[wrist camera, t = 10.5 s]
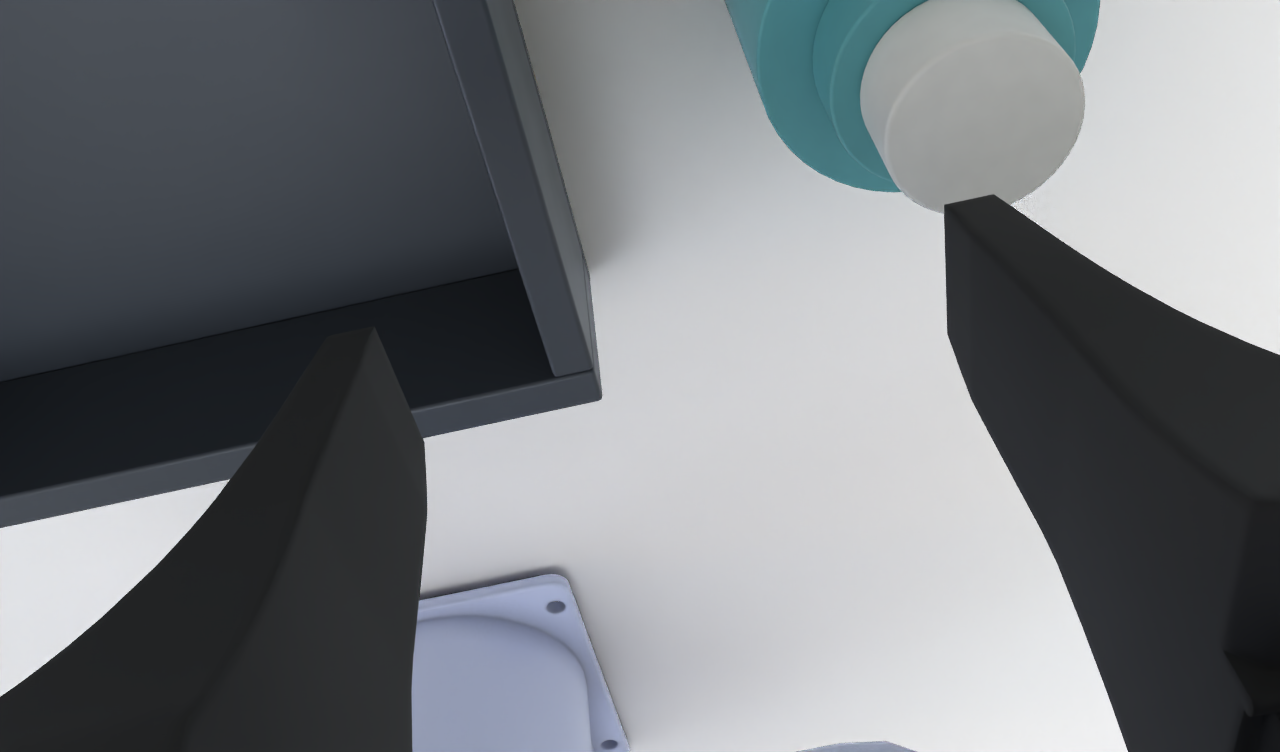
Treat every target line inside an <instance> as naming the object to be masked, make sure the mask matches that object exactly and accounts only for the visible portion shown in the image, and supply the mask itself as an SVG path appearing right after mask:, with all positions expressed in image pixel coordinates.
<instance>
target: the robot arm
mask: <svg viewBox="0 0 1280 752" xmlns="http://www.w3.org/2000/svg"><path fill="white" fill-rule="evenodd" d="M944 223H945V260H946V297H947V334H948V336H949V339H950V342H951V345H952V348H953V351H954V353H955V356H956V359H957V362H958V365H959V367H960V370H961V373H962V376H963V378H964V381H965V383H966V386H967V389H968V391H969V394H970V397H971V399H972V401H973V403H974V405H975V407H976V409H977V411H978V413H979V415H980V417H981V419H982V421H983V422H984V424H985V426H986V428H987V430H988V432H989V434H990V436H991V438H992V439H993V441H994V443H995V445H996V447H997V449H998V451H999V453H1000V454H1001V456H1002V458H1003V460H1004V462H1005V464H1006V466H1007V467H1008V469H1009V471H1010V473H1011V475H1012V477H1013V479H1014V480H1015V482H1016V484H1017V486H1018V488H1019V490H1020V492H1021V493H1022V495H1023V497H1024V499H1025V501H1026V503H1027V505H1028V506H1029V508H1030V510H1031V512H1032V514H1033V516H1034V518H1035V519H1036V521H1037V523H1038V525H1039V527H1040V529H1041V531H1042V532H1043V534H1044V537H1045V539H1046V541H1047V543H1048V545H1049V547H1050V549H1051V551H1052V553H1053V555H1054V558H1055V560H1056V562H1057V564H1058V566H1059V569H1060V572H1061V574H1062V577H1063V579H1064V582H1065V584H1066V587H1067V589H1068V592H1069V594H1070V597H1071V599H1072V602H1073V604H1074V607H1075V609H1076V612H1077V614H1078V617H1079V619H1080V622H1081V624H1082V627H1083V629H1084V632H1085V635H1086V637H1087V640H1088V643H1089V645H1090V648H1091V651H1092V653H1093V656H1094V659H1095V661H1096V664H1097V667H1098V669H1099V672H1100V675H1101V677H1102V680H1103V683H1104V685H1105V688H1106V691H1107V693H1108V696H1109V699H1110V702H1111V704H1112V707H1113V710H1114V713H1115V716H1116V719H1117V721H1118V724H1119V727H1120V730H1121V733H1122V736H1123V738H1124V741H1125V744H1126V747H1127V750H1128V752H1280V355H1278V354H1275V353H1273V352H1270V351H1268V350H1265V349H1262V348H1260V347H1257V346H1255V345H1252V344H1250V343H1247V342H1245V341H1243V340H1240V339H1238V338H1236V337H1234V336H1231V335H1229V334H1227V333H1225V332H1222V331H1220V330H1218V329H1216V328H1213V327H1211V326H1209V325H1207V324H1204V323H1202V322H1200V321H1198V320H1196V319H1194V318H1192V317H1190V316H1188V315H1186V314H1184V313H1182V312H1180V311H1178V310H1176V309H1174V308H1172V307H1170V306H1168V305H1166V304H1165V303H1163V302H1161V301H1159V300H1157V299H1155V298H1154V297H1152V296H1150V295H1148V294H1146V293H1144V292H1143V291H1141V290H1139V289H1137V288H1135V287H1134V286H1132V285H1130V284H1129V283H1127V282H1125V281H1123V280H1122V279H1120V278H1118V277H1117V276H1115V275H1113V274H1112V273H1110V272H1109V271H1107V270H1105V269H1104V268H1102V267H1100V266H1099V265H1097V264H1096V263H1094V262H1093V261H1091V260H1089V259H1088V258H1086V257H1085V256H1083V255H1082V254H1080V253H1079V252H1077V251H1076V250H1074V249H1073V248H1071V247H1070V246H1068V245H1067V244H1065V243H1064V242H1062V241H1061V240H1059V239H1058V238H1056V237H1055V236H1053V235H1052V234H1050V233H1049V232H1048V231H1046V230H1045V229H1043V228H1042V227H1040V226H1039V225H1037V224H1036V223H1035V222H1033V221H1032V220H1030V219H1029V218H1027V217H1026V216H1025V215H1023V214H1022V213H1020V212H1019V211H1017V210H1016V209H1015V208H1013V207H1012V206H1010V205H1009V204H1007V203H1006V202H1005V201H1003V200H1002V199H1000V198H999V197H997V196H996V195H994V194H992V195H987V196H982V197H978V198H973V199H968V200H964V201H959V202H954V203H950V204H945V205H944ZM426 521H427V484H426V465H425V447H424V441H423V438H422V436H421V434H420V431H419V429H418V427H417V424H416V422H415V420H414V417H413V415H412V413H411V410H410V408H409V406H408V403H407V401H406V399H405V396H404V394H403V392H402V389H401V387H400V385H399V382H398V380H397V378H396V375H395V373H394V371H393V368H392V366H391V364H390V361H389V359H388V357H387V354H386V352H385V350H384V347H383V345H382V343H381V340H380V338H379V336H378V333H377V331H376V329H375V326H373V327H368V328H363V329H359V330H354V331H349V332H344V333H340V334H335V335H330V336H327V338H326V339H325V341H324V342H323V344H322V345H321V347H320V348H319V350H318V351H317V353H316V354H315V356H314V357H313V359H312V361H311V362H310V364H309V365H308V367H307V368H306V370H305V371H304V373H303V374H302V376H301V378H300V379H299V381H298V382H297V384H296V385H295V387H294V388H293V390H292V392H291V393H290V395H289V396H288V398H287V399H286V401H285V402H284V404H283V405H282V407H281V409H280V410H279V412H278V413H277V415H276V416H275V418H274V419H273V421H272V422H271V424H270V425H269V427H268V428H267V429H266V431H265V432H264V434H263V435H262V437H261V438H260V440H259V441H258V443H257V444H256V446H255V447H254V449H253V450H252V451H251V453H250V454H249V455H248V457H247V458H246V459H245V461H244V462H243V463H242V465H241V466H240V467H239V469H238V470H237V471H236V473H235V474H234V475H233V477H232V478H231V479H230V481H229V482H228V483H227V485H226V486H225V487H224V489H223V490H222V491H221V493H220V494H219V495H218V497H217V498H216V499H215V500H214V502H213V503H212V504H211V505H210V507H209V508H208V509H207V510H206V511H205V513H204V514H203V515H202V516H201V517H200V519H199V520H198V521H197V522H196V523H195V524H194V526H193V527H192V528H191V529H190V530H189V531H188V532H187V533H186V534H185V536H184V537H183V538H182V539H181V540H180V541H179V542H178V543H177V544H176V545H175V546H174V548H173V549H172V550H171V551H170V552H169V553H168V554H167V555H166V556H165V557H164V558H163V559H162V560H161V561H160V563H159V564H158V565H157V566H156V567H155V568H154V569H153V570H152V571H151V572H149V573H148V574H147V575H146V576H145V577H144V578H143V579H142V580H141V581H140V582H139V583H138V584H137V585H136V586H135V587H134V588H133V589H131V590H130V591H129V592H128V593H127V594H126V595H125V596H124V597H123V598H122V599H121V600H120V601H119V602H118V603H117V604H116V605H115V606H113V607H112V608H111V609H110V610H109V611H108V612H107V613H106V614H105V615H104V616H103V617H102V618H101V619H99V620H98V621H97V622H96V623H95V624H94V625H92V626H91V627H90V628H89V629H88V630H87V631H85V632H84V633H83V634H82V635H81V636H79V637H78V638H77V639H76V640H75V641H73V642H72V643H71V644H70V645H69V646H67V647H66V648H65V649H64V650H62V651H61V652H60V653H59V654H57V655H56V656H55V657H53V658H52V659H51V660H50V661H48V662H47V663H46V664H45V665H43V666H42V667H41V668H39V669H38V670H37V671H36V672H34V673H33V674H32V675H30V676H29V677H28V678H26V679H25V680H23V681H22V682H21V683H19V684H18V685H17V686H15V687H14V688H12V689H11V690H10V691H8V692H7V693H5V694H4V695H2V696H1V697H0V752H630V747H629V744H628V742H627V739H626V736H625V734H624V731H623V728H622V725H621V723H620V720H619V717H618V715H617V712H616V709H615V706H614V704H613V701H612V698H611V696H610V693H609V690H608V687H607V685H606V682H605V679H604V677H603V674H602V671H601V668H600V666H599V663H598V660H597V658H596V655H595V652H594V649H593V647H592V644H591V641H590V639H589V636H588V633H587V631H586V628H585V625H584V622H583V620H582V617H581V614H580V612H579V609H578V606H577V603H576V601H575V598H574V595H573V593H572V590H571V587H570V584H569V582H568V581H567V579H566V578H564V577H563V576H561V575H557V574H546V575H541V576H537V577H532V578H527V579H522V580H517V581H512V582H507V583H502V584H498V585H493V586H488V587H483V588H478V589H473V590H468V591H463V592H459V593H454V594H449V595H444V596H439V597H434V598H429V599H424V600H420V601H419V595H420V585H421V575H422V565H423V555H424V544H425V533H426ZM553 601H559V602H553ZM797 752H917V751H914V750H911V749H908V748H905V747H902V746H899V745H896V744H893V743H890V742H887V741H878V742H855V743H839V744H834V745H828V746H823V747H818V748H813V749H807V750H802V751H797Z"/></svg>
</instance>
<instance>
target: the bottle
mask: <svg viewBox="0 0 1280 752" xmlns="http://www.w3.org/2000/svg"><path fill="white" fill-rule="evenodd" d="M724 1H725V3H726V6H727V9H728V11H729V14H730V17H731V19H732V22H733V25H734V27H735V30H736V33H737V35H738V38H739V41H740V43H741V46H742V49H743V51H744V54H745V57H746V59H747V62H748V65H749V67H750V70H751V73H752V75H753V78H754V81H755V83H756V86H757V89H758V92H759V94H760V97H761V100H762V102H763V105H764V107H765V110H766V113H767V115H768V118H769V120H770V121H771V123H772V125H773V127H774V128H775V130H776V132H777V134H778V135H779V136H780V138H781V139H782V140H783V142H784V143H785V144H786V145H787V147H788V148H789V149H790V150H791V151H792V152H793V153H794V154H795V155H796V156H797V157H798V158H800V159H801V160H802V161H803V162H804V163H806V164H807V165H808V166H810V167H811V168H813V169H814V170H816V171H817V172H819V173H821V174H823V175H825V176H827V177H829V178H831V179H833V180H835V181H837V182H840V183H843V184H846V185H849V186H852V187H856V188H861V189H866V190H872V191H883V192H903V193H904V194H905V195H906V196H907V197H908V198H909V199H911V200H912V201H914V202H915V203H917V204H919V205H921V206H923V207H925V208H927V209H930V210H933V211H936V212H940V213H944V205H945V204H950V203H954V202H959V201H964V200H968V199H973V198H978V197H982V196H987V195H992V194H994V195H996V196H997V197H999V198H1000V199H1002V200H1003V201H1005V202H1006V203H1007V204H1009V205H1010V204H1012V203H1014V202H1016V201H1018V200H1020V199H1022V198H1023V197H1025V196H1026V195H1028V194H1030V193H1031V192H1033V191H1034V190H1035V189H1037V188H1038V187H1039V186H1041V185H1042V184H1043V183H1044V182H1045V181H1046V180H1047V179H1049V178H1050V177H1051V176H1052V175H1053V174H1054V173H1055V171H1056V170H1057V169H1058V168H1059V167H1060V166H1061V165H1062V163H1063V162H1064V160H1065V159H1066V158H1067V156H1068V155H1069V153H1070V151H1071V149H1072V148H1073V146H1074V144H1075V142H1076V140H1077V137H1078V135H1079V132H1080V129H1081V125H1082V122H1083V117H1084V109H1085V93H1084V87H1083V82H1082V79H1081V76H1080V73H1081V71H1082V69H1083V67H1084V65H1085V62H1086V60H1087V57H1088V55H1089V52H1090V50H1091V47H1092V43H1093V40H1094V36H1095V32H1096V28H1097V23H1098V15H1099V7H1100V0H724Z"/></svg>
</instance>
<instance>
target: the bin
mask: <svg viewBox="0 0 1280 752" xmlns="http://www.w3.org/2000/svg"><path fill="white" fill-rule="evenodd" d="M373 326H375V329H376V331H377V333H378V336H379V338H380V340H381V343H382V345H383V347H384V350H385V352H386V354H387V357H388V359H389V361H390V364H391V366H392V368H393V371H394V373H395V375H396V378H397V380H398V382H399V385H400V387H401V389H402V392H403V394H404V396H405V399H406V401H407V403H408V406H409V408H410V410H411V413H412V415H413V417H414V420H415V422H416V424H417V427H418V429H419V431H420V434H421V436H422V438H426V437H430V436H435V435H440V434H445V433H449V432H454V431H459V430H463V429H468V428H473V427H477V426H482V425H487V424H492V423H496V422H501V421H506V420H510V419H515V418H520V417H524V416H529V415H534V414H539V413H543V412H548V411H553V410H557V409H562V408H567V407H571V406H576V405H581V404H586V403H590V402H595V401H599V400H601V398H602V388H601V379H600V370H599V361H598V351H597V342H596V333H595V324H594V315H593V305H592V296H591V287H590V275H589V271H588V267H587V264H586V260H585V257H584V253H583V249H582V246H581V242H580V239H579V235H578V231H577V228H576V224H575V221H574V217H573V213H572V210H571V206H570V202H569V199H568V195H567V192H566V188H565V184H564V181H563V177H562V174H561V170H560V166H559V163H558V159H557V156H556V152H555V148H554V145H553V141H552V138H551V134H550V130H549V127H548V123H547V120H546V116H545V112H544V109H543V105H542V102H541V98H540V94H539V91H538V87H537V84H536V80H535V76H534V73H533V69H532V66H531V62H530V58H529V55H528V51H527V47H526V44H525V40H524V37H523V33H522V29H521V26H520V22H519V19H518V15H517V11H516V8H515V4H514V1H513V0H0V528H3V527H7V526H12V525H17V524H22V523H26V522H31V521H36V520H40V519H45V518H50V517H54V516H59V515H64V514H69V513H73V512H78V511H83V510H87V509H92V508H97V507H101V506H106V505H111V504H116V503H120V502H125V501H130V500H134V499H139V498H144V497H148V496H153V495H158V494H163V493H167V492H172V491H177V490H181V489H186V488H191V487H195V486H200V485H205V484H210V483H214V482H219V481H224V480H228V479H231V478H232V477H233V475H234V474H235V473H236V471H237V470H238V469H239V467H240V466H241V465H242V463H243V462H244V461H245V459H246V458H247V457H248V455H249V454H250V453H251V451H252V450H253V449H254V447H255V446H256V444H257V443H258V441H259V440H260V438H261V437H262V435H263V434H264V432H265V431H266V429H267V428H268V427H269V425H270V424H271V422H272V421H273V419H274V418H275V416H276V415H277V413H278V412H279V410H280V409H281V407H282V405H283V404H284V402H285V401H286V399H287V398H288V396H289V395H290V393H291V392H292V390H293V388H294V387H295V385H296V384H297V382H298V381H299V379H300V378H301V376H302V374H303V373H304V371H305V370H306V368H307V367H308V365H309V364H310V362H311V361H312V359H313V357H314V356H315V354H316V353H317V351H318V350H319V348H320V347H321V345H322V344H323V342H324V341H325V339H326V338H327V336H330V335H335V334H340V333H344V332H349V331H354V330H359V329H363V328H368V327H373Z"/></svg>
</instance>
